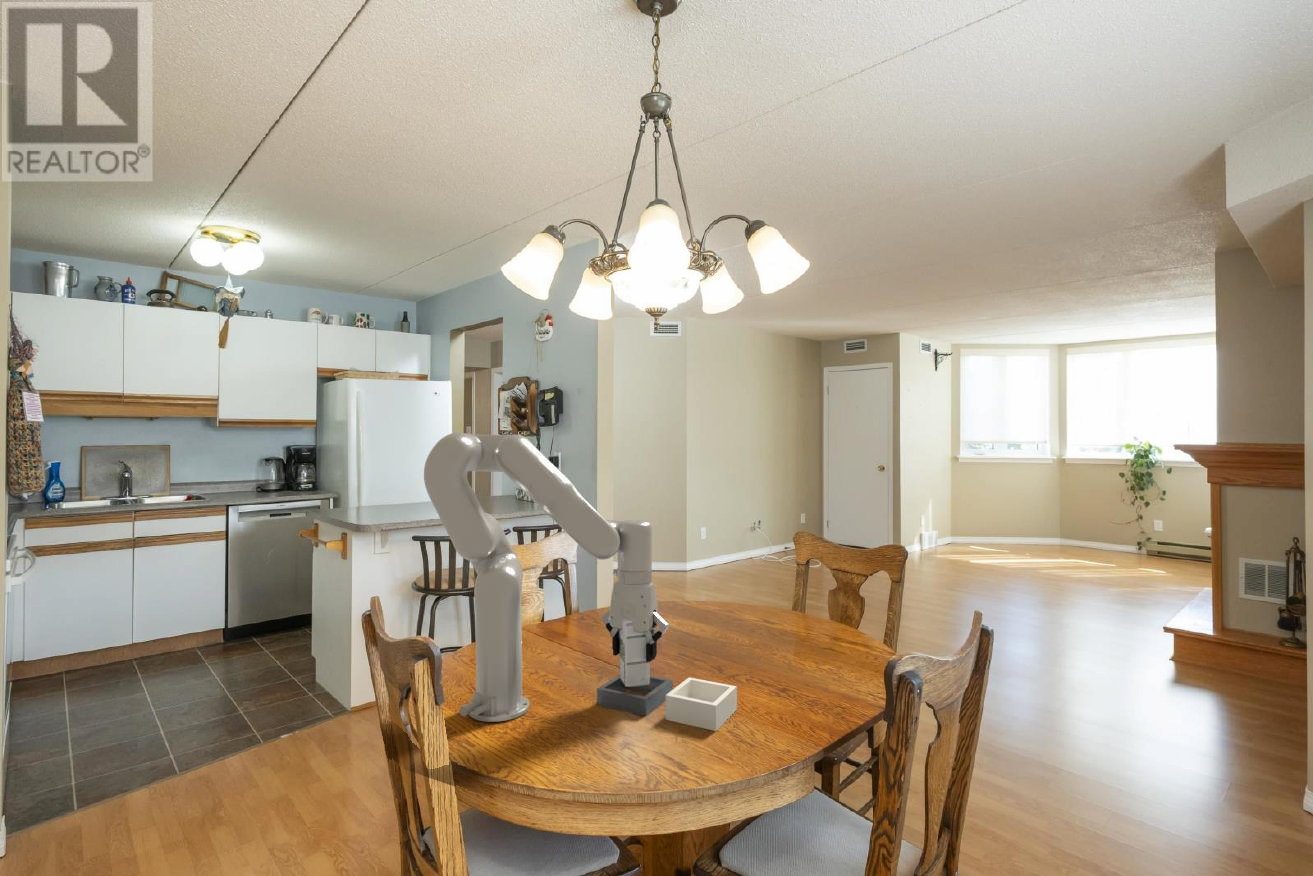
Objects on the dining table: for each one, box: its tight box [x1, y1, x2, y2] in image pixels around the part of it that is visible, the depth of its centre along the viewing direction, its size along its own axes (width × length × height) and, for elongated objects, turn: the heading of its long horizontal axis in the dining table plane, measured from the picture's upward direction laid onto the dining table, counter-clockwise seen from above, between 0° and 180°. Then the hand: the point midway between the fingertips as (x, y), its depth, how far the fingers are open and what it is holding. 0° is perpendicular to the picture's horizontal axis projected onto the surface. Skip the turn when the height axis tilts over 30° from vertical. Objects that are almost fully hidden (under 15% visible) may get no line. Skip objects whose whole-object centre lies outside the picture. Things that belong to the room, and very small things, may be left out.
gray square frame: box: [596, 674, 674, 717], centre depth 142 cm, size 12×12×4 cm
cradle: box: [665, 677, 738, 732], centre depth 134 cm, size 11×11×5 cm
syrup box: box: [618, 619, 651, 687], centre depth 142 cm, size 6×6×14 cm
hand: (634, 656), depth 142 cm, fingers closed on syrup box, 7 cm apart
